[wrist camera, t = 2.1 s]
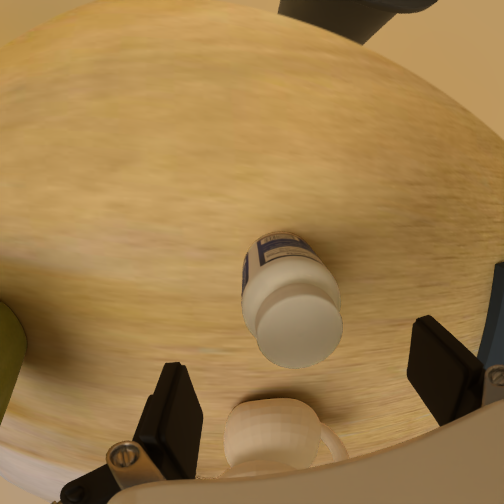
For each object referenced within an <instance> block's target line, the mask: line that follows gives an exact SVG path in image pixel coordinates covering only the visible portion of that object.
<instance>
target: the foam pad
mask: <svg viewBox="0 0 504 504" xmlns="http://www.w3.org/2000/svg"><path fill="white" fill-rule="evenodd" d="M477 358H478V359H479V360H480V361H481V362H482V363H483V364H484V367H483V368H484V369H485V370H487V369H488V368H489V367H491V366H494V365H504V262H501V263H498V264H495V271H494V279H493V286H492V292H491V298H490V304H489V309H488V314H487V319H486V324H485V328H484V333H483V337H482V341H481V345H480V348H479V352H478V356H477Z"/></svg>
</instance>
